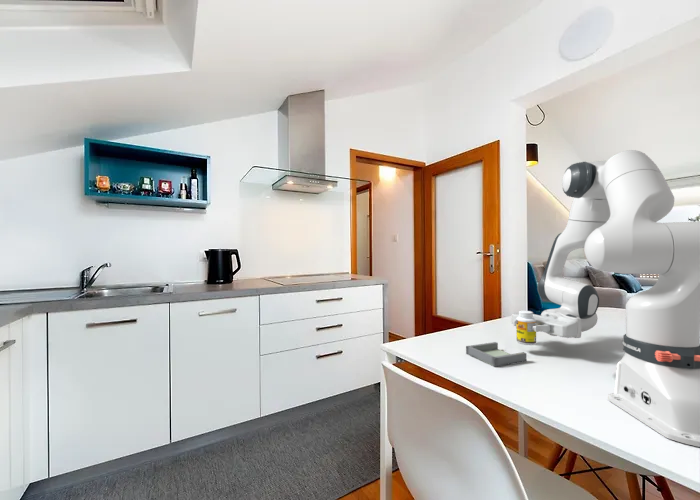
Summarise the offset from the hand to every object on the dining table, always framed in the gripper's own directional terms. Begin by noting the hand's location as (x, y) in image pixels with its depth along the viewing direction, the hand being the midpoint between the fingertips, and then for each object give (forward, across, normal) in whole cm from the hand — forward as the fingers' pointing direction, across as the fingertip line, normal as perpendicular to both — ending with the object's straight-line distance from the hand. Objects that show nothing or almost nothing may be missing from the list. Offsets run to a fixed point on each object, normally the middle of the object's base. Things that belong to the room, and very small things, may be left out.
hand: (524, 326), depth 100 cm
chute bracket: (+12, 0, +9) cm, 15 cm away
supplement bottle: (-1, 0, +6) cm, 6 cm away
